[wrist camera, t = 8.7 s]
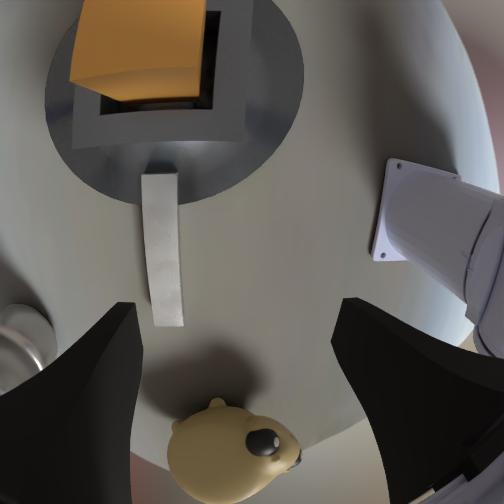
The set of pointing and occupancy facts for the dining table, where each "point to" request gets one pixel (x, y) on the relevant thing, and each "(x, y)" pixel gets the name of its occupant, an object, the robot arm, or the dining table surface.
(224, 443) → the tan rounded figure
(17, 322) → the plastic bottle
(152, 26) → the orange rectangular block
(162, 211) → the grey piece
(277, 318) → the dining table surface
